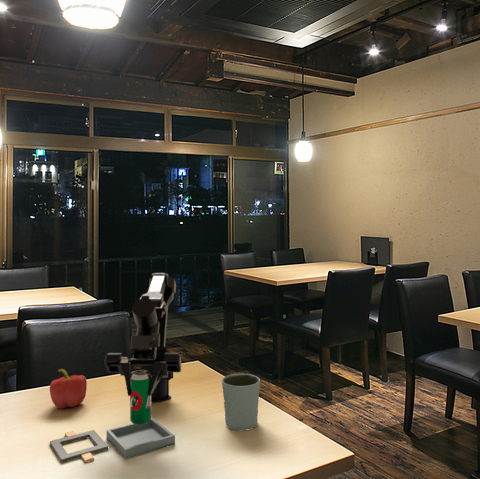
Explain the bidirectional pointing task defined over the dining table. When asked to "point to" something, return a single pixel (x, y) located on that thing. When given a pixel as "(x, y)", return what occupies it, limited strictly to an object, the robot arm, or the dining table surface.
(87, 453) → the grey rectangular frame
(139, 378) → the soda can
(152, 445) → the parts tray
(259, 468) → the dining table surface
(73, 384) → the vegetable
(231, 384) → the grey-green cup
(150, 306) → the robot arm
